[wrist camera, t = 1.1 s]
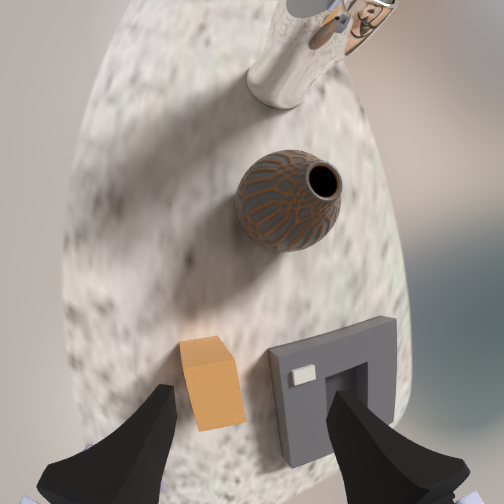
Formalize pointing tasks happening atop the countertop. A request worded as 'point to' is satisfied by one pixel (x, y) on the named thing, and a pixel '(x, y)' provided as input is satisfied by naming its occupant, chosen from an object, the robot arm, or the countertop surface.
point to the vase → (289, 200)
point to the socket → (331, 382)
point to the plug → (212, 383)
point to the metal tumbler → (311, 44)
